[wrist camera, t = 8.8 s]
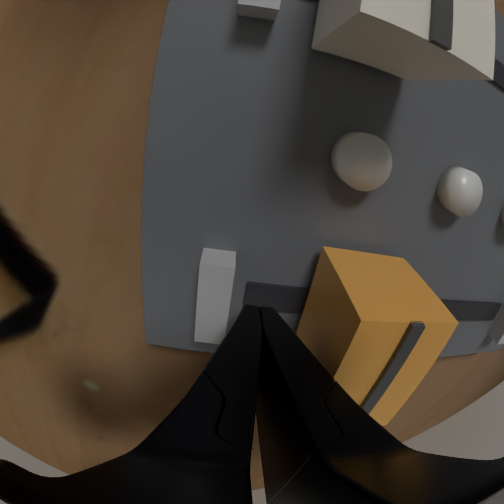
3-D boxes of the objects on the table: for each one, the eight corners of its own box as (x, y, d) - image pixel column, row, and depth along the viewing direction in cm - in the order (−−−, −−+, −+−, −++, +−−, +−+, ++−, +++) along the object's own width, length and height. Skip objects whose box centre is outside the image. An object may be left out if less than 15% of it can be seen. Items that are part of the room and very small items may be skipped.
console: (566, 100, 7) (595, 108, 5) (489, 335, 14) (508, 359, 12) (203, -72, 5) (195, -107, 3) (154, 319, 12) (140, 361, 10)
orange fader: (403, 257, 9) (461, 326, 6) (359, 355, 11) (387, 428, 8) (322, 245, 9) (363, 325, 6) (289, 353, 11) (303, 435, 8)
